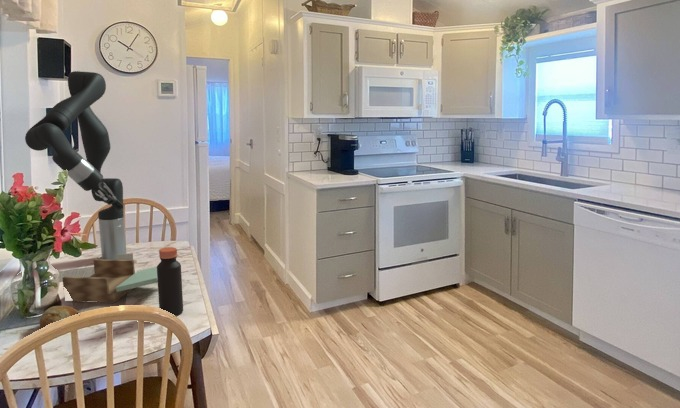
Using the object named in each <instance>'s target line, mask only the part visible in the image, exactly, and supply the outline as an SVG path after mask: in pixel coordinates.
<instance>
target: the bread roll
mask: <svg viewBox="0 0 680 408" xmlns="http://www.w3.org/2000/svg"><path fill="white" fill-rule="evenodd" d="M78 313H80V312H79V311H78V310H77V309H76V308H74V307H72V306H68V305H55V306H54V305H53V306H51V307H49V308H47V309H46V310H45V311H43V313H42V314H41V316H40V317H39V326H38V327H39V328H38V329H41V328H43V327H45V326H46V325H48V324H50V323H53V322H56V321H59V320H61V319H64V318H67V317H69V316H72V315H75V314H78Z"/></svg>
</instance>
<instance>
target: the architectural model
mask: <svg viewBox="0 0 680 408" xmlns="http://www.w3.org/2000/svg"><path fill="white" fill-rule="evenodd" d="M133 255H134V254H133V253H132V252H130V253H127V252H126V253H125V254H119V255H117V260H134V264H137V263H138V261H137V259H134V256H133Z"/></svg>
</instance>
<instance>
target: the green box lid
mask: <svg viewBox="0 0 680 408" xmlns="http://www.w3.org/2000/svg"><path fill="white" fill-rule="evenodd" d="M156 283H157V284H158V279H157V266H154V267H150V268H145V269H142V270H138V271H136V272H135V274H133V275H132V276H131V277H129V278H128V279H127V280H125V281H124V282H122V283H121V284H120V285H118V286H117V287H116V291H117V292H119V291H123V290H127V289H131V290H133V289H135V288H139V287H144V286H148V285H153V284H156ZM132 288H133V289H132Z"/></svg>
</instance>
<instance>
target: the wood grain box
mask: <svg viewBox="0 0 680 408" xmlns="http://www.w3.org/2000/svg"><path fill="white" fill-rule="evenodd" d="M134 260H135V259H133V260H102V258H101V259H96V258H95V259H93V269H94V270H93V271H94V273H93V274H92V275H90V276H63V277H62V285H63V287H65V288H66V289H67V291H68V292H69V294H70V296H71V298H72V299H73V301H78V302H77V303H82V302H81V301H97V302H96V303H100V302H115V303H116V302H118V301H119V300H121V298H122V297H124V296H125V295H127V294H128V293H129V292H130V291H132V290H133V289H134V288H132V289H127V290H123V291H119V292H117V291H116V287H117V286H118V285H120V284H121V283H122V282H124V281H125V280H127V279H128V278H129V277H131V276H132V275H133V274H135V273H136V272H135V263H134ZM79 301H80V302H79Z"/></svg>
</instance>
